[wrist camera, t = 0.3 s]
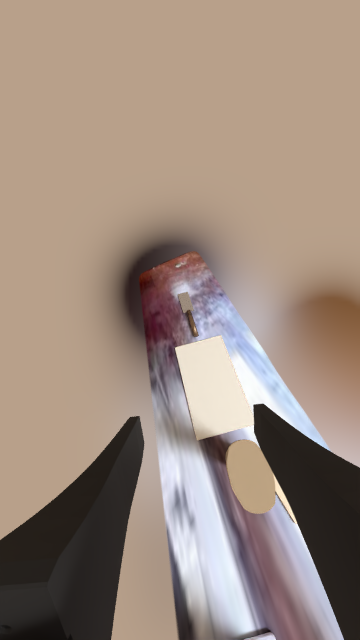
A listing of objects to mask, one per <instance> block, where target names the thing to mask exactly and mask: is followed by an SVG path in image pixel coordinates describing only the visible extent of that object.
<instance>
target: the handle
mask: <svg viewBox="0 0 360 640" xmlns="http://www.w3.org/2000/svg"><path fill="white" fill-rule="evenodd" d="M225 458H226V467H227V472H228V476H229V480H230V484H231V487H232V489H233V491H234V493H235V495H236V497H237V498H238V500H239V501H240V503H241V504H242V506H243V507H244V509H245V510H247V511H249V512H251V513H256V514H259V513H264V512H267V511H269V510H270V509H271V508H272V507H273V506H274V504H275V480H274V476H273V473H272V470H271V468H270V466H269V464H268V462H267V461H266V459H265V457H264V455H263V453H262V451H261V449H260V448H259V447H258V446H257V444H256V443H255V442H252V441H250V440H238V441H235V442H233V443H232V444H231V445H230V446H229V447H228V450H227V452H226V456H225Z"/></svg>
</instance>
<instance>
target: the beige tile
mask: <svg viewBox="0 0 360 640" xmlns="http://www.w3.org/2000/svg"><path fill="white" fill-rule="evenodd" d="M273 476H274V474H273ZM274 480H275V491H276V493H277V495H278V496H279V498H280V500H281V501H282V503H283V504H284V506H285V508H286V509H287V511H288V513H289V514H290V516H291V518H292V519H293V521H294V522H295V524H297V521H296V519H295V517H294V514H293V512H292V510H291V507H290V505H289V503H288V501H287V499H286V497H285V495H284V493H283V491H282V489H281V487H280V485H279V483H278V482H277V480H276V478H275V476H274Z"/></svg>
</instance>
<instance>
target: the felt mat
mask: <svg viewBox="0 0 360 640" xmlns="http://www.w3.org/2000/svg"><path fill="white" fill-rule="evenodd" d="M175 350H176V354H177V358H178V362H179V367H180V371H181V375H182V380H183V384H184V388H185V392H186V397H187V401H188V405H189V409H190V414H191V418H192V422H193V426H194V431H195V435H196V439H197V440H201V439H204V438H208V437H212V436H215V435H219V434H223V433H226V432H230V431H233V430H237V429H241V428H244V427H248V426H252V425H254V416H253V414H252V411H251V409H250V406H249V404H248V401H247V399H246V396H245V394H244V391H243V389H242V386H241V384H240V381H239V379H238V376H237V374H236V371H235V369H234V366H233V364H232V361H231V359H230V356H229V354H228V351H227V349H226V346H225V344H224V341H223V339H222V336H221V335H220V336H216V337H212V338H209V339H205V340H201V341H198V342H194V343H190V344H187V345H183V346H179V347H176V348H175Z"/></svg>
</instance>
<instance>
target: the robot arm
mask: <svg viewBox="0 0 360 640" xmlns="http://www.w3.org/2000/svg"><path fill="white" fill-rule="evenodd" d="M253 407H254V433H255V436H256V438H257V441H258V443H259V446H260V448H261V451H262V453H263V455H264V457H265V459H266V461H267V462H268V464H269V466H270V468H271V470H272V472H273V474H274V476H275V478H276V480H277V482H278V483H279V485H280V487H281V489H282V491H283V493H284V495H285V497H286V499H287V501H288V503H289V505H290V507H291V510H292V512H293V514H294V517H295V519H296V521H297V524H298V526H299V528H300V530H301V533H302V535H303V538H304V540H305V542H306V545H307V547H308V550H309V552H310V554H311V557H312V559H313V562H314V564H315V567H316V569H317V572H318V574H319V576H320V579H321V581H322V584H323V586H324V589H325V591H326V594H327V596H328V599H329V601H330V604H331V607H332V609H333V612H334V614H335V617H336V620H337V622H338V625H339V627H340V630H341V633H342V635H343V638H344V640H360V468H359V467H357V466H355V465H353V464H352V463H350V462H348V461H346V460H344V459H342V458H341V457H339V456H337V455H335V454H334V453H332V452H330V451H329V450H327V449H325V448H324V447H322V446H320V445H319V444H317V443H316V442H314V441H313V440H311V439H310V438H308V437H307V436H305V435H304V434H302V433H301V432H300V431H298V430H297V429H295V428H294V427H293V426H291V425H290V424H289V423H287V422H286V421H285V420H283V419H282V418H281V417H279V416H278V415H277V414H276V413H274V412H273V411H272V410H271V409H269V408H268V407H267V406H266V405H264V404H256V405H253ZM143 450H144V439H143V433H142V428H141V422H140V417H139V416H136V417H130V418H129V419H128V420H127V421H126V423H125V424H124V426H123V427H122V428H121V429H120V431H119V432H118V433H117V434H116V436H115V437H114V438H113V439H112V441H111V442H110V443H109V444H108V446H107V447H106V448H105V450H103V452H102V453H101V454H100V455H99V456H98V457H97V458H96V460H95V461H94V462H93V463H92V464H91V465H90V466H89V467H88V468H87V469H86V470H85V471H84V472H83V473H82V474H81V475H80V476H79V477H78V478H77V479H76V480H75V481H74V482H73V483H72V484H71V485H69V486H68V487H67V488H66V489H65V490H64V491H63V492H62V493H61V494H59V495H58V497H56V498H55V499H54V500H52V501H51V502H50V503H49V504H48V505H46V506H45V507H44V508H43V509H41V510H40V511H39V512H38V513H36V514H35V515H34V516H33V517H31V518H30V519H29V520H27V521H26V522H25V523H23V524H22V525H20V526H19V527H18V528H16V529H15V530H14V531H12V532H11V533H9V534H8V535H7V536H5V537H4V538H2V539H1V540H0V640H111V636H112V628H113V620H114V612H115V605H116V598H117V590H118V583H119V576H120V569H121V563H122V556H123V549H124V543H125V537H126V531H127V524H128V519H129V514H130V509H131V505H132V501H133V496H134V493H135V489H136V485H137V480H138V476H139V472H140V467H141V463H142V457H143ZM244 640H276V639H275V636H274V634H273V633H271V632H269V633H265V634H261V635H258V636H254V637H251V638H247V639H244Z"/></svg>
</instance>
